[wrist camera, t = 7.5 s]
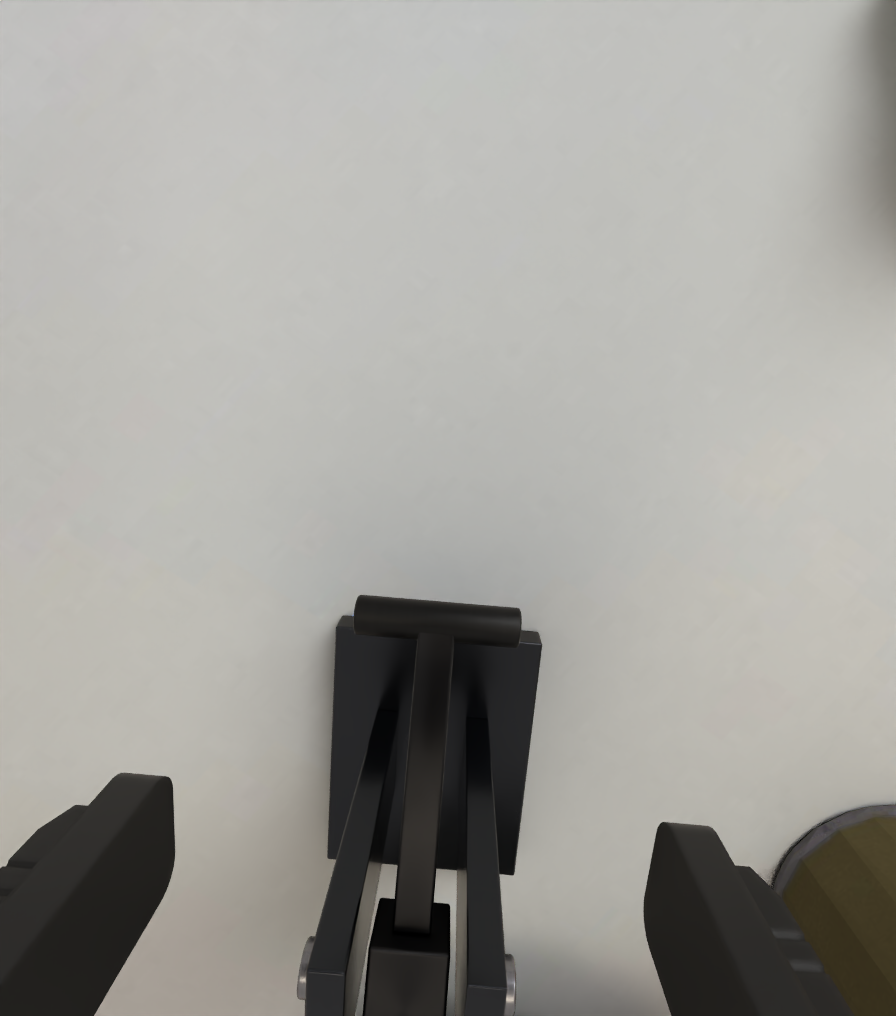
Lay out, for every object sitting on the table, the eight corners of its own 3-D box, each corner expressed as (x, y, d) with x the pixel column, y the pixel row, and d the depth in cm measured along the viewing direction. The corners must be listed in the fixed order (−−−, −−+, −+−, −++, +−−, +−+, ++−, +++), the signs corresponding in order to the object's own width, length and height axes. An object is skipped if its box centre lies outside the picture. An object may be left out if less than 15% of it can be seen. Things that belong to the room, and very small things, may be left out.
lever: (364, 593, 18) (351, 596, 16) (515, 606, 18) (525, 610, 16) (324, 990, 17) (304, 1058, 15) (488, 1006, 17) (495, 1076, 15)
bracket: (342, 614, 25) (223, 831, 13) (538, 631, 25) (610, 866, 13) (333, 838, 28) (226, 1201, 15) (512, 854, 28) (550, 1232, 15)
